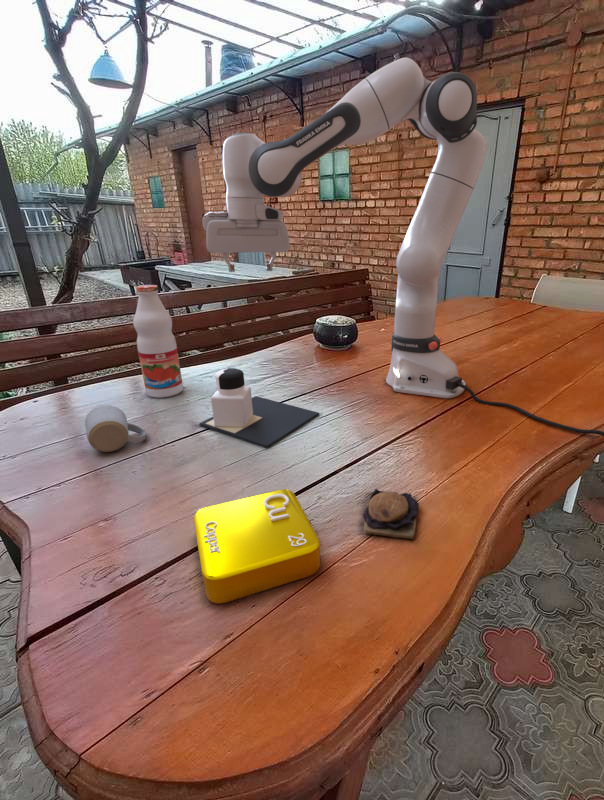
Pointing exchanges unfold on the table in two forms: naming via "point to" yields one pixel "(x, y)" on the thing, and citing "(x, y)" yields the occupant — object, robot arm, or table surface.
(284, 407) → the mat
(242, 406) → the medicine bottle
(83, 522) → the table surface
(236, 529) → the element tile
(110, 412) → the ceramic mug
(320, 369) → the table surface
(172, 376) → the fruit juice
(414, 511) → the brown layered stack
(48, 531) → the table surface
